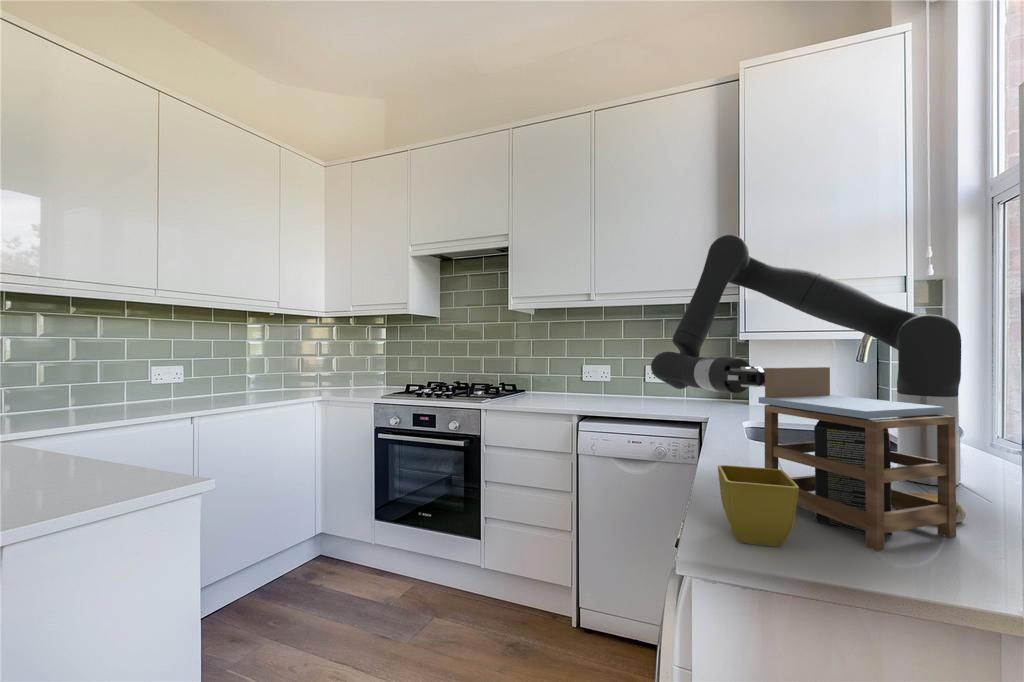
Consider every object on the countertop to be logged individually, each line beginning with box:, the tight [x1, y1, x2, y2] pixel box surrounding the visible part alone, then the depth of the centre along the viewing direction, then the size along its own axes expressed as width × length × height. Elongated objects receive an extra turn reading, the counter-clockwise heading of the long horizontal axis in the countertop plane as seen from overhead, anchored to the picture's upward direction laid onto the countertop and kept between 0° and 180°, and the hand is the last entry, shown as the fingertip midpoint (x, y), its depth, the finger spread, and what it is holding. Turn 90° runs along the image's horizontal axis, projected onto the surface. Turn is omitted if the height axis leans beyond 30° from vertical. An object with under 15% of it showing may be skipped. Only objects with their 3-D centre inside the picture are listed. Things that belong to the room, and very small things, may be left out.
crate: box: [764, 404, 957, 552], centre depth 71 cm, size 16×18×17 cm
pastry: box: [897, 491, 967, 524], centre depth 74 cm, size 9×7×4 cm
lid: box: [758, 366, 945, 420], centre depth 73 cm, size 16×18×6 cm
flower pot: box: [717, 464, 799, 548], centre depth 64 cm, size 9×9×9 cm
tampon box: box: [813, 420, 893, 537], centre depth 71 cm, size 11×9×15 cm
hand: (793, 380), depth 81 cm, fingers closed
